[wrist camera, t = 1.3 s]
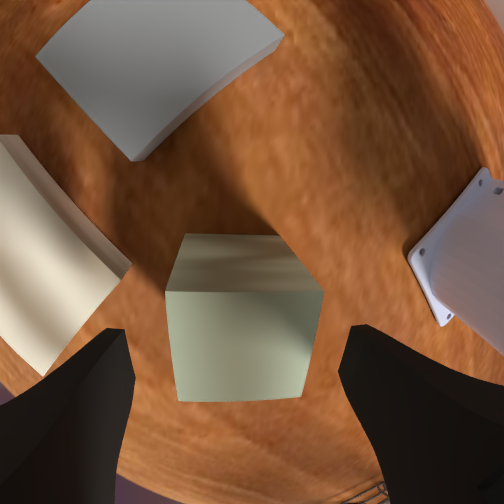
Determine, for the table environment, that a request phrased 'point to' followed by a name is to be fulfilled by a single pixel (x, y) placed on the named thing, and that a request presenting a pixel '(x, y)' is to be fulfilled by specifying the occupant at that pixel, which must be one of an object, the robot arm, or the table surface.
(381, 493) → the geometric lantern
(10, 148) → the pale ash block
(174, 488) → the table surface
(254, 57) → the slate grey block
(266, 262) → the sage green block
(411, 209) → the table surface
